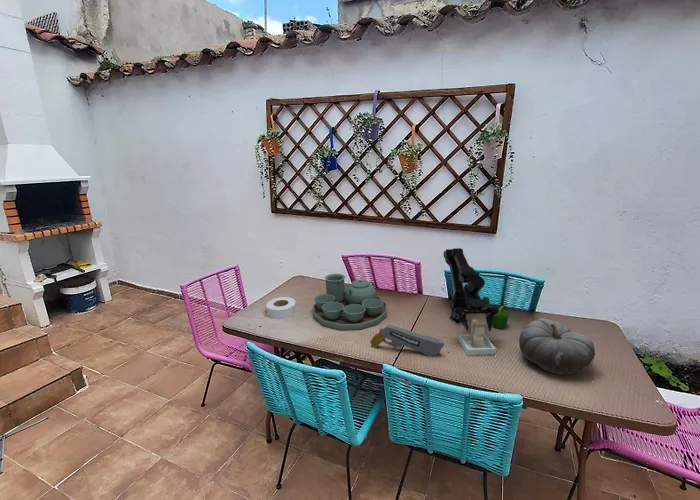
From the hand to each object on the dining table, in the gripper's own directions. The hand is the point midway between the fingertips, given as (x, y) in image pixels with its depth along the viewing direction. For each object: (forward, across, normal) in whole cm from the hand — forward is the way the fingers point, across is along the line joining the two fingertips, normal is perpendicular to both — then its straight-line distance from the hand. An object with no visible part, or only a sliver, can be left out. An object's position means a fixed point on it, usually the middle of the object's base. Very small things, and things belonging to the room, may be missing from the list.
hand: (479, 331), depth 144 cm
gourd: (+14, +27, -1) cm, 30 cm away
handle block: (+5, 0, +7) cm, 8 cm away
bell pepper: (-7, +17, +20) cm, 27 cm away
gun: (+6, -31, +7) cm, 32 cm away
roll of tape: (-22, -92, +35) cm, 101 cm away
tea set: (-20, -54, +34) cm, 67 cm away
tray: (+5, 0, +7) cm, 9 cm away
